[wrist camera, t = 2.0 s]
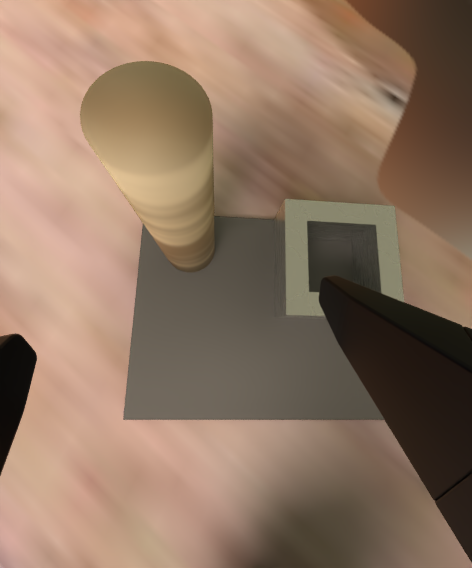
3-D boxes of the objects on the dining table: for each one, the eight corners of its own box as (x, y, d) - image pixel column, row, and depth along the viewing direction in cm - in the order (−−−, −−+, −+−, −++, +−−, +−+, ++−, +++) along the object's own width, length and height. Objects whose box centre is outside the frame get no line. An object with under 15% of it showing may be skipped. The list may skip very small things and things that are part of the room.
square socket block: (374, 320, 21) (405, 318, 17) (274, 317, 20) (286, 314, 17) (366, 225, 22) (394, 205, 19) (273, 219, 22) (285, 198, 18)
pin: (213, 273, 20) (209, 176, 7) (163, 271, 20) (71, 167, 7) (215, 227, 21) (214, 68, 8) (167, 224, 21) (89, 54, 8)
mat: (385, 417, 20) (388, 419, 19) (125, 417, 18) (123, 419, 18) (370, 227, 23) (373, 225, 22) (145, 214, 21) (144, 211, 21)
